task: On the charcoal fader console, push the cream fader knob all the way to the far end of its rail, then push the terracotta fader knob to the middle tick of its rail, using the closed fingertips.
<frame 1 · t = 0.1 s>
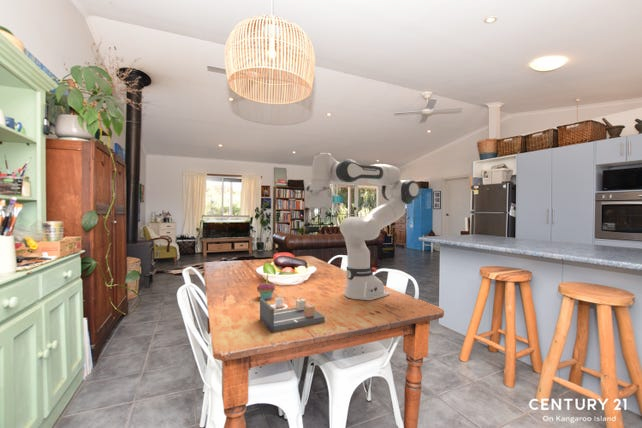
hand: (317, 217, 131), 39 cm above the table, tool pointing down, fingers open, 8 cm apart
cupcake: (265, 298, 138), on the table
cream fader knob: (300, 304, 116), point 4 cm above the table, slide at 0.0 cm
teacup and saucer: (272, 307, 126), on the table
terracotta fader knob: (309, 310, 109), point 4 cm above the table, slide at 0.0 cm
console: (291, 320, 110), on the table
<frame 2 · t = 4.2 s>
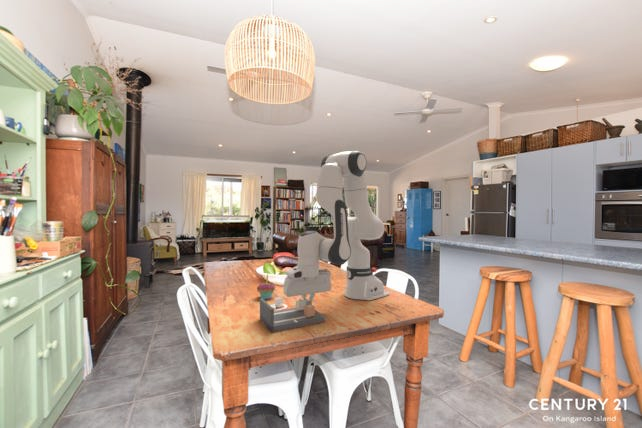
hand: (308, 304, 118), 4 cm above the table, tool pointing down, fingers closed
cream fader knob: (300, 304, 116), point 4 cm above the table, slide at 0.1 cm, touching gripper
everything else where it was.
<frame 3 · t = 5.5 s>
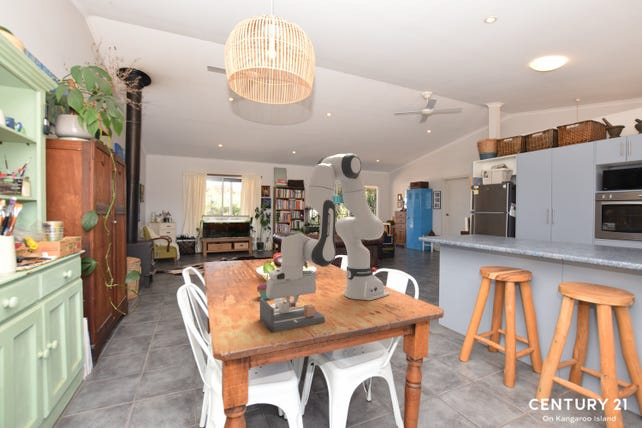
hand: (291, 306, 114), 4 cm above the table, tool pointing down, fingers closed
cream fader knob: (284, 306, 113), point 4 cm above the table, slide at 7.1 cm, touching gripper
everything else where it was.
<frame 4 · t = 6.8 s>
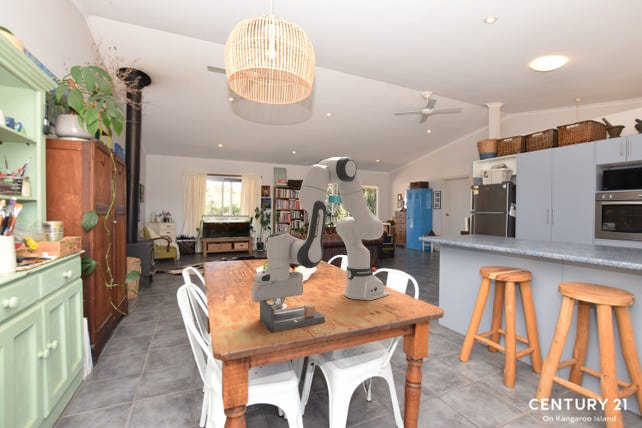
hand: (278, 309, 112), 4 cm above the table, tool pointing down, fingers closed
cream fader knob: (270, 309, 110), point 4 cm above the table, slide at 12.6 cm, touching gripper
everything else where it was.
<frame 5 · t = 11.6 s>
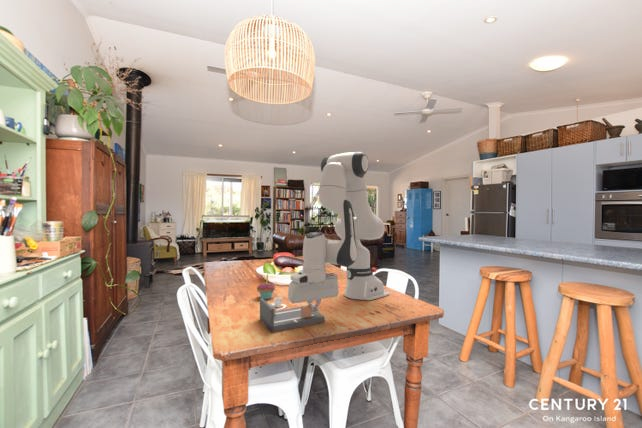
hand: (314, 311, 110), 4 cm above the table, tool pointing down, fingers closed
cream fader knob: (270, 309, 110), point 4 cm above the table, slide at 12.6 cm
terracotta fader knob: (306, 310, 109), point 4 cm above the table, slide at 1.3 cm, touching gripper
everything else where it was.
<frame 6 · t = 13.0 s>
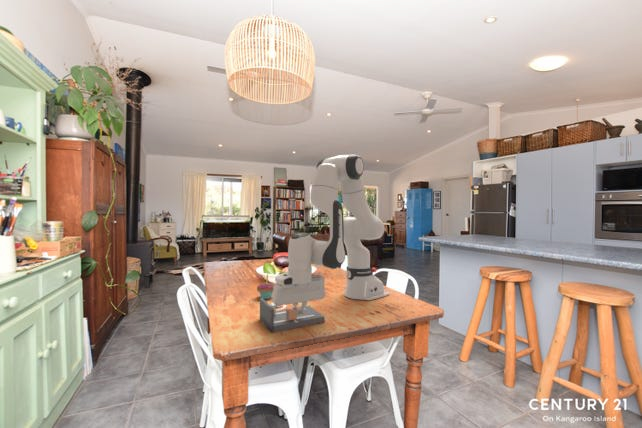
hand: (299, 313, 107), 4 cm above the table, tool pointing down, fingers closed
terracotta fader knob: (291, 313, 106), point 4 cm above the table, slide at 7.3 cm, touching gripper
everything else where it was.
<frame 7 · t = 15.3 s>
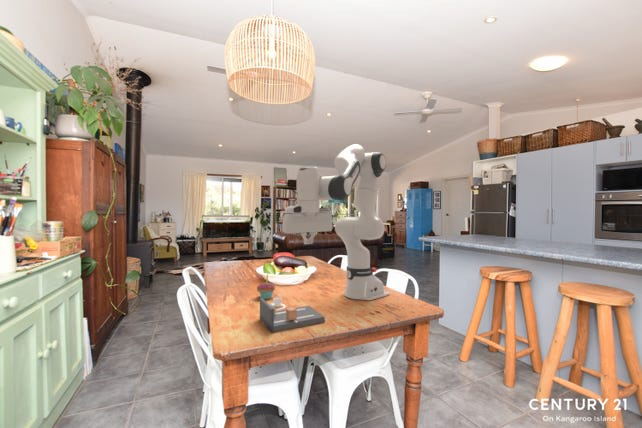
hand: (308, 244, 111), 29 cm above the table, tool pointing down, fingers closed
terracotta fader knob: (291, 313, 106), point 4 cm above the table, slide at 7.3 cm
everything else where it was.
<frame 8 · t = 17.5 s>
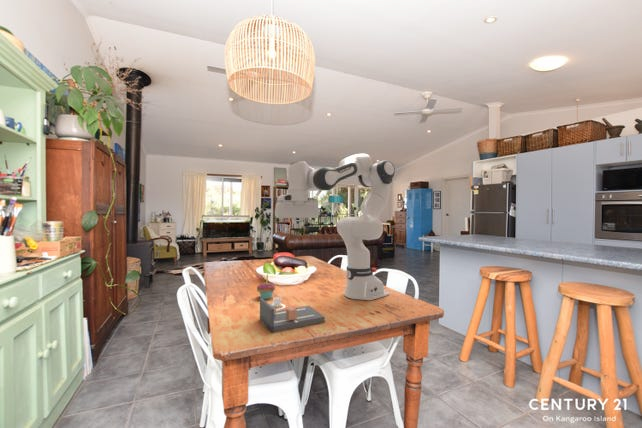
hand: (297, 228, 129), 34 cm above the table, tool pointing down, fingers closed
at the end: cream fader knob slide at 12.6 cm; terracotta fader knob slide at 7.3 cm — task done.
